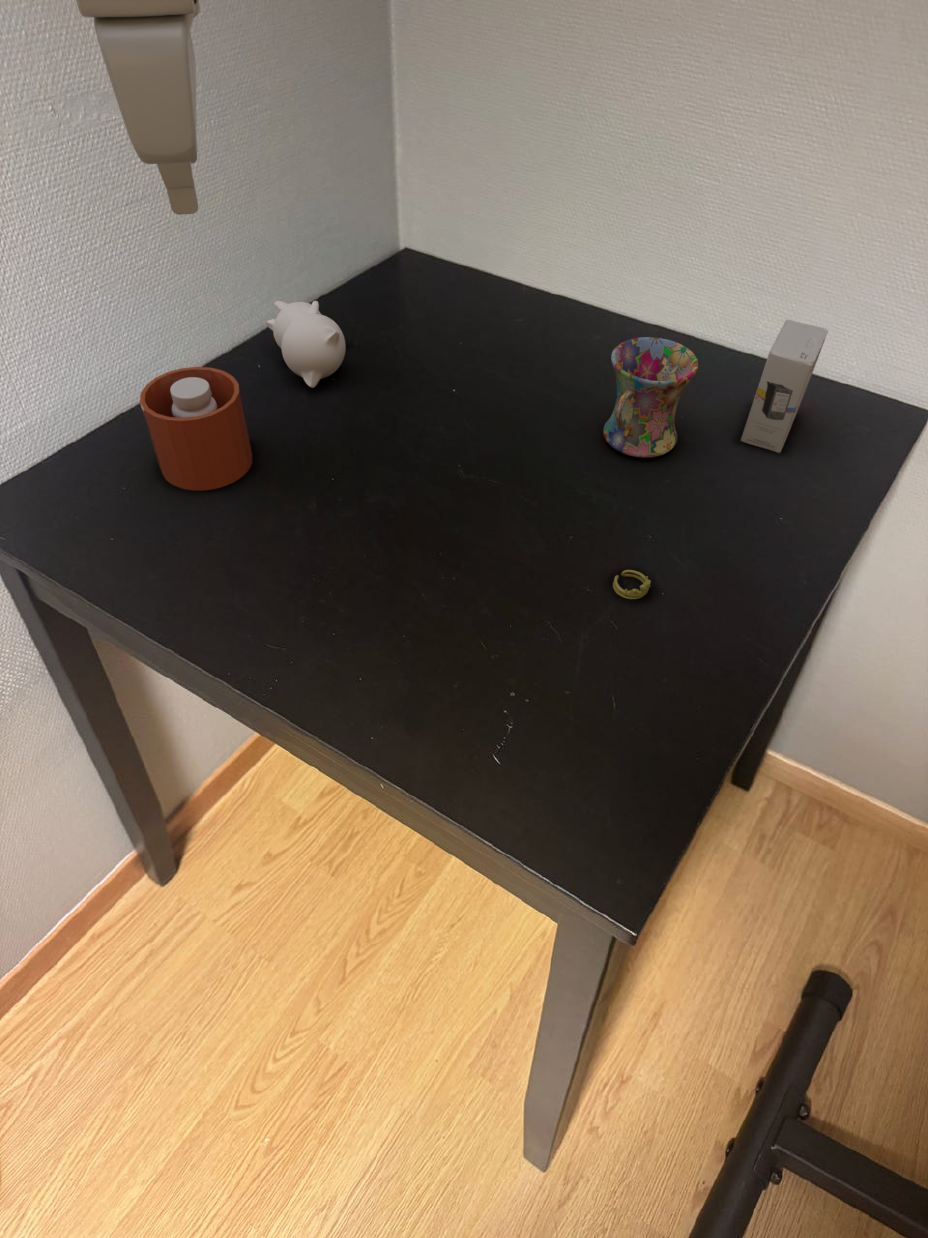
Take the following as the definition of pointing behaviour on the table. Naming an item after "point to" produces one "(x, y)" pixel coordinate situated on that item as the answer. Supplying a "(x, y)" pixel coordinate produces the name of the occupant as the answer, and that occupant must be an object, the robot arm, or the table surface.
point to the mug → (648, 395)
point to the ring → (635, 592)
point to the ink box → (783, 384)
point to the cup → (198, 432)
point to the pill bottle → (192, 398)
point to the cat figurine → (308, 340)
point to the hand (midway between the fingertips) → (186, 184)
